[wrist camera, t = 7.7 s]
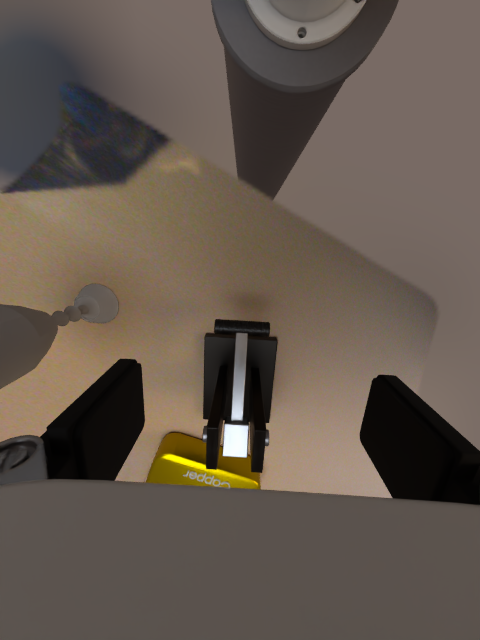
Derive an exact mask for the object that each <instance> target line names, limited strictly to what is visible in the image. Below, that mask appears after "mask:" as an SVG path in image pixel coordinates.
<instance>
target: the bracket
mask: <svg viewBox="0 0 480 640" xmlns="http://www.w3.org/2000/svg"><path fill="white" fill-rule="evenodd" d="M235 343H236V335H222V334H208V333H206V335H205V347H204V402H203V419H208V424H207V426H204V429H203V437H202V441H203V442H204V443H206V469H212V470H217V465H218V457H219V449H220V441H221V434H222V426H223V420H225V418H226V416H229V417H231V409H232V392H233V376H234V359H235ZM276 351H277V338H276V337H256V336H248V337H247V355H246V373H245V391H244V409H243V417H246V418H248V421H249V422H250V453H251V472H257V473H262V470H263V460H264V450H265V446H268V445H269V430H266V423H269V419H270V410H271V400H272V390H273V380H274V370H275V361H276Z"/></svg>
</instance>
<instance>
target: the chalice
mask: <svg viewBox="0 0 480 640" xmlns="http://www.w3.org/2000/svg"><path fill="white" fill-rule="evenodd" d="M118 309H119V306H118V300H117V298H116V296H115V294H114V293H113V292H112V291H111V290H110V289H109V288H107V287H106V286H103V285H100V284H90V285H87V286H85V287H84V288H83V289H82V290H81V291H80V293H79V294H78V296H77V297H76V299H75V302H74V306H68V307H66V308H65V310H64V312H62V311H55V312H54V313H53V314H52V316H51V315H49V314H47V313H45V312H42V311H38V310H34V309H30V308H26V307H21V306H13V305H2V304H0V389H1V388H3V387H4V386H6V385H8V384H10V383H11V382H13V381H15V380H17V379H18V378H20V377H22V376H23V375H25V374H27V373H28V372H30V371H32V370H33V369H35V368H36V366H37V365H38V364H39V362H40V361H41V360H42V359H43V357H44V356H45V355H46V353H47V352H48V350H49V349H50V347H51V345H52V343H53V341H54V339H55V336H56V334H57V331H58V326H57V325H59V326H65V325H67V324H68V322H69V320H70V321H73V322H76V321H78V320H80V318H82V319H83V320H85V321H88V322H93V323H107V322H110V321H111V320H113V319H114V318H115V316H116V315H117V313H118Z"/></svg>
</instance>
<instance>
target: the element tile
mask: <svg viewBox="0 0 480 640" xmlns="http://www.w3.org/2000/svg"><path fill="white" fill-rule="evenodd" d="M222 452H223V447H221V446H220V449H219V457H218V465H217V470H212V469H206V443H204V442H203V441H202V440H199V439H196V438H193V437H190V436H187V435H184V434H181V433H170V434H167V435H166V436H165V437H164V438H163V440H162V441H161V444H160V446H159V448H158V451H157V453H156V455H155V458H154V460H153V463H152V466H151V468H150V471H149V474H148V477H147V480H146V482H145V483H160V484H177V485H195V486H212V487H229V488H245V489H261V485H260V473H257V472H251V456H248V455H247V458H242V457H226V456H222Z"/></svg>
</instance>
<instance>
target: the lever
mask: <svg viewBox="0 0 480 640" xmlns="http://www.w3.org/2000/svg"><path fill="white" fill-rule="evenodd" d="M214 332H215V334H222V335H236V343H235V359H234V376H233V392H232V409H231V417H229V416H226V418H225V423H224V436H223V452H222V456H226V457H242V458H247V455H248V436H249V421H248V418H246V417H243V409H244V391H245V373H246V355H247V337H248V336H256V337H269V334H270V323H269V322H256V321H239V320H222V319H216V320H215V328H214Z"/></svg>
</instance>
